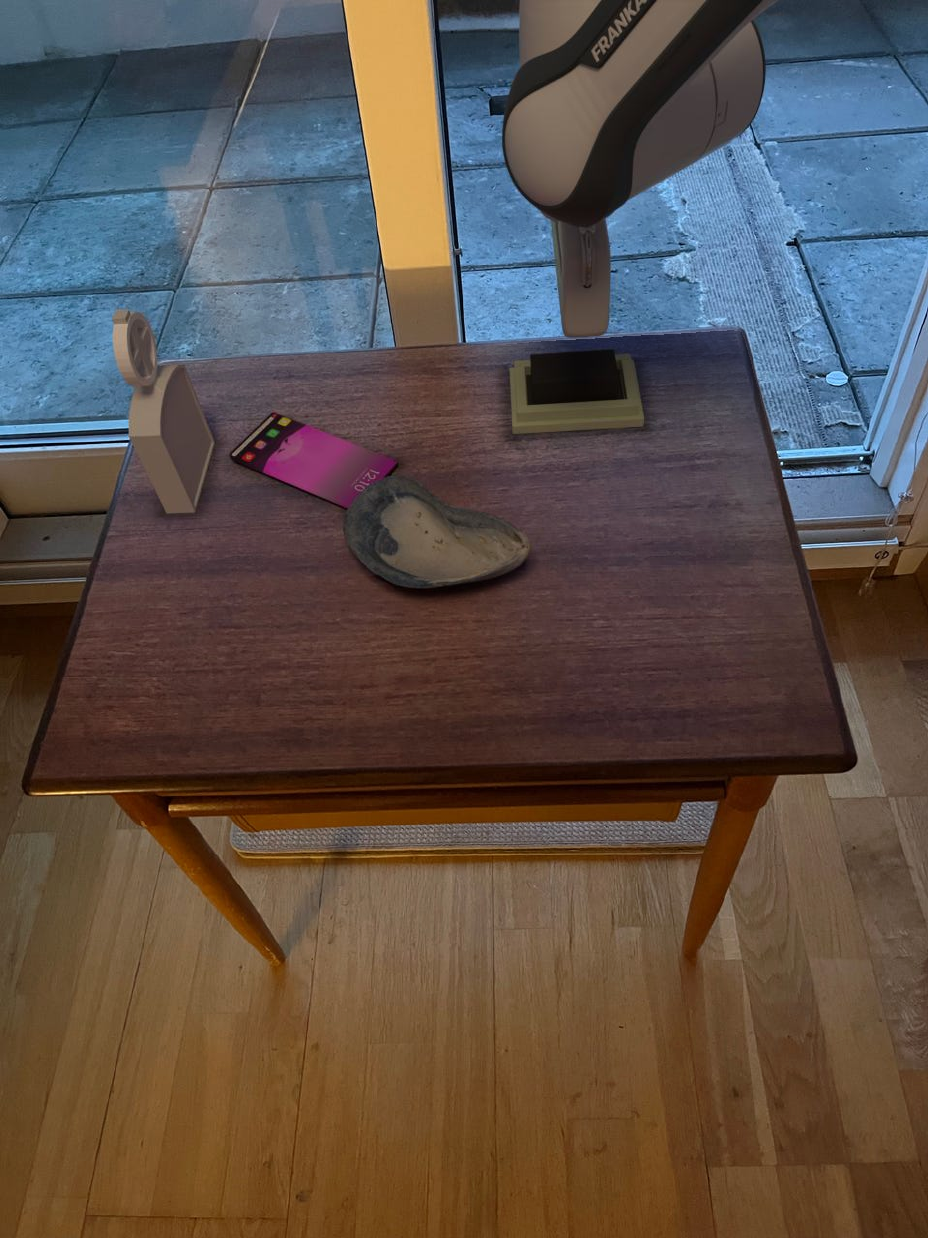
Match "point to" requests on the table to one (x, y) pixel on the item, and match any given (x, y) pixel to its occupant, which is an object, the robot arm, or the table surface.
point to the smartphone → (311, 459)
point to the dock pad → (575, 404)
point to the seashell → (428, 537)
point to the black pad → (574, 377)
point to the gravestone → (163, 416)
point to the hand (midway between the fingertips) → (575, 316)
